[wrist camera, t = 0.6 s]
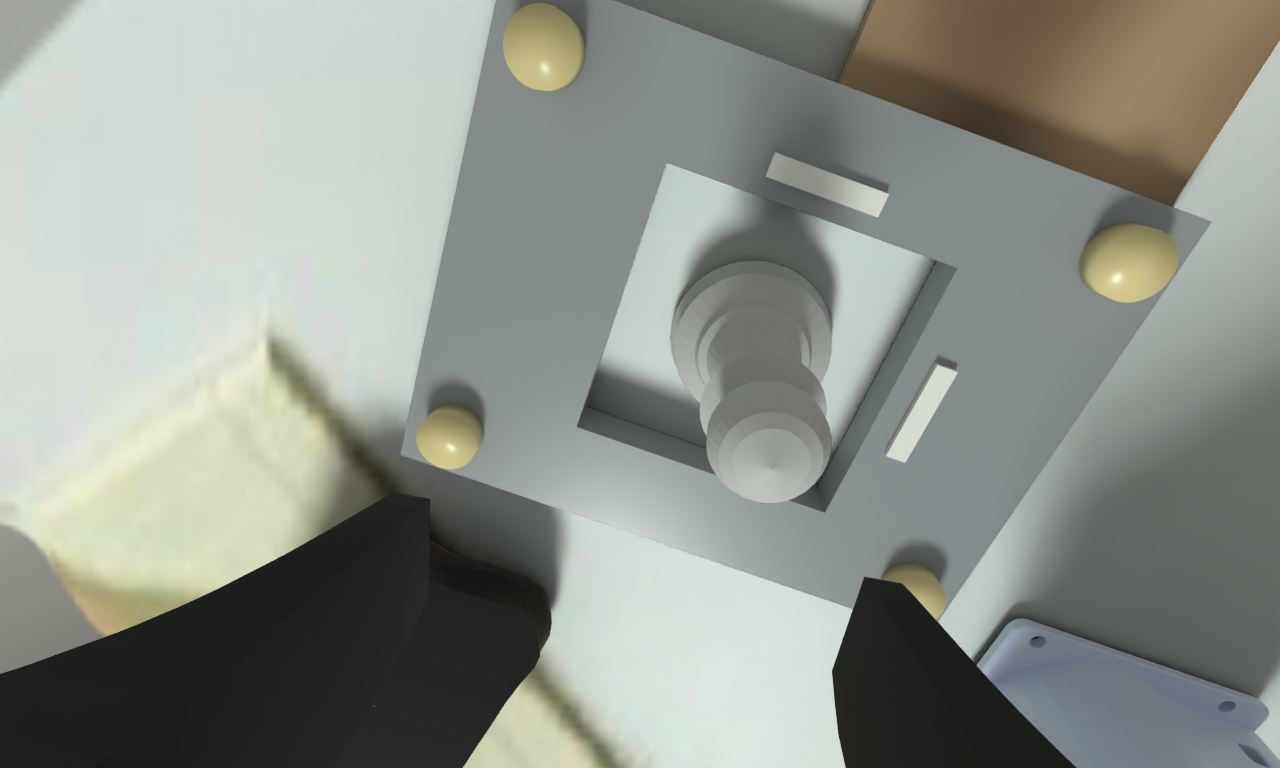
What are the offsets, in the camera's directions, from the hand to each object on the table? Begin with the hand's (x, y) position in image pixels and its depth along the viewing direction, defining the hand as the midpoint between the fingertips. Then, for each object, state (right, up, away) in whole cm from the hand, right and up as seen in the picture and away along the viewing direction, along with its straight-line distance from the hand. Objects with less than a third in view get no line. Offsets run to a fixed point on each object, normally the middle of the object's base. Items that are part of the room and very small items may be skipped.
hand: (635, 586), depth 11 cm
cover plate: (+3, +5, +9) cm, 11 cm away
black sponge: (-10, -8, +16) cm, 21 cm away
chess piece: (+3, +5, +9) cm, 11 cm away
